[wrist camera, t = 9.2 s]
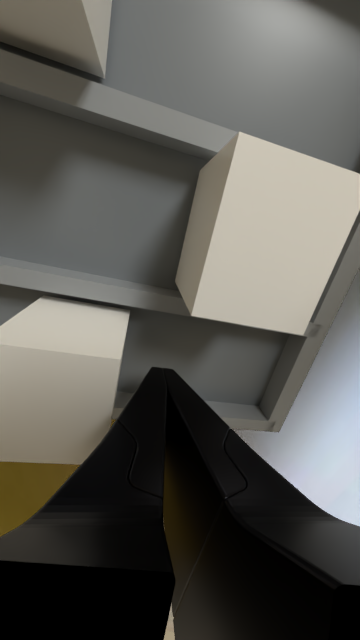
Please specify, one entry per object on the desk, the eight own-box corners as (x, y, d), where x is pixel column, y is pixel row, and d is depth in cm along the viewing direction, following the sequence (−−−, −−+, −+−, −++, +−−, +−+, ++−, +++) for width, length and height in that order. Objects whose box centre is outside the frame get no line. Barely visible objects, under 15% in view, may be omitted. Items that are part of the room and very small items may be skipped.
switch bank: (426, 23, 8) (512, -38, 6) (261, 406, 13) (279, 435, 12) (-339, -393, 4) (-709, -861, 2) (-136, 365, 10) (-202, 399, 8)
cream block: (130, 310, 9) (120, 359, 6) (117, 388, 10) (103, 465, 7) (43, 295, 8) (-22, 341, 5) (40, 380, 10) (-13, 461, 6)
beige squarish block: (283, 195, 8) (373, 178, 5) (249, 296, 9) (303, 335, 6) (199, 170, 7) (239, 131, 4) (174, 281, 9) (191, 315, 6)
